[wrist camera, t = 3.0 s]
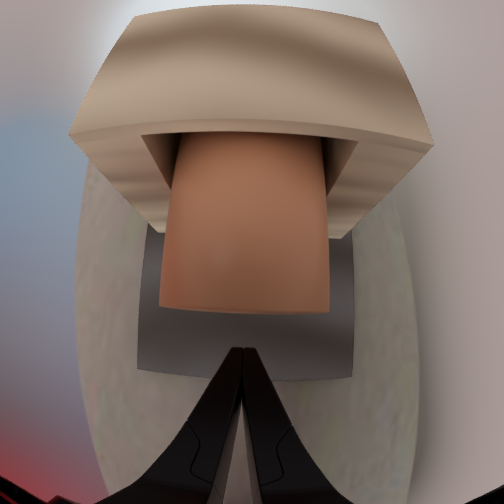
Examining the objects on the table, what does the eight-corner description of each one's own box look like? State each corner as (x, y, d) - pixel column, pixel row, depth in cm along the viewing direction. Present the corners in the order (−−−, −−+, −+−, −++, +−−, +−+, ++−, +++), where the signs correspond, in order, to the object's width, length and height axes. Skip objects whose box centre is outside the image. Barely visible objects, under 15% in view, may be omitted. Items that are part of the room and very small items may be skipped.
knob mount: (346, 374, 17) (466, 428, 5) (142, 366, 17) (16, 410, 5) (336, 137, 21) (386, 18, 9) (170, 132, 21) (127, 11, 9)
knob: (309, 314, 13) (356, 309, 7) (181, 310, 13) (130, 301, 7) (306, 179, 14) (336, 102, 9) (194, 175, 14) (167, 98, 9)
